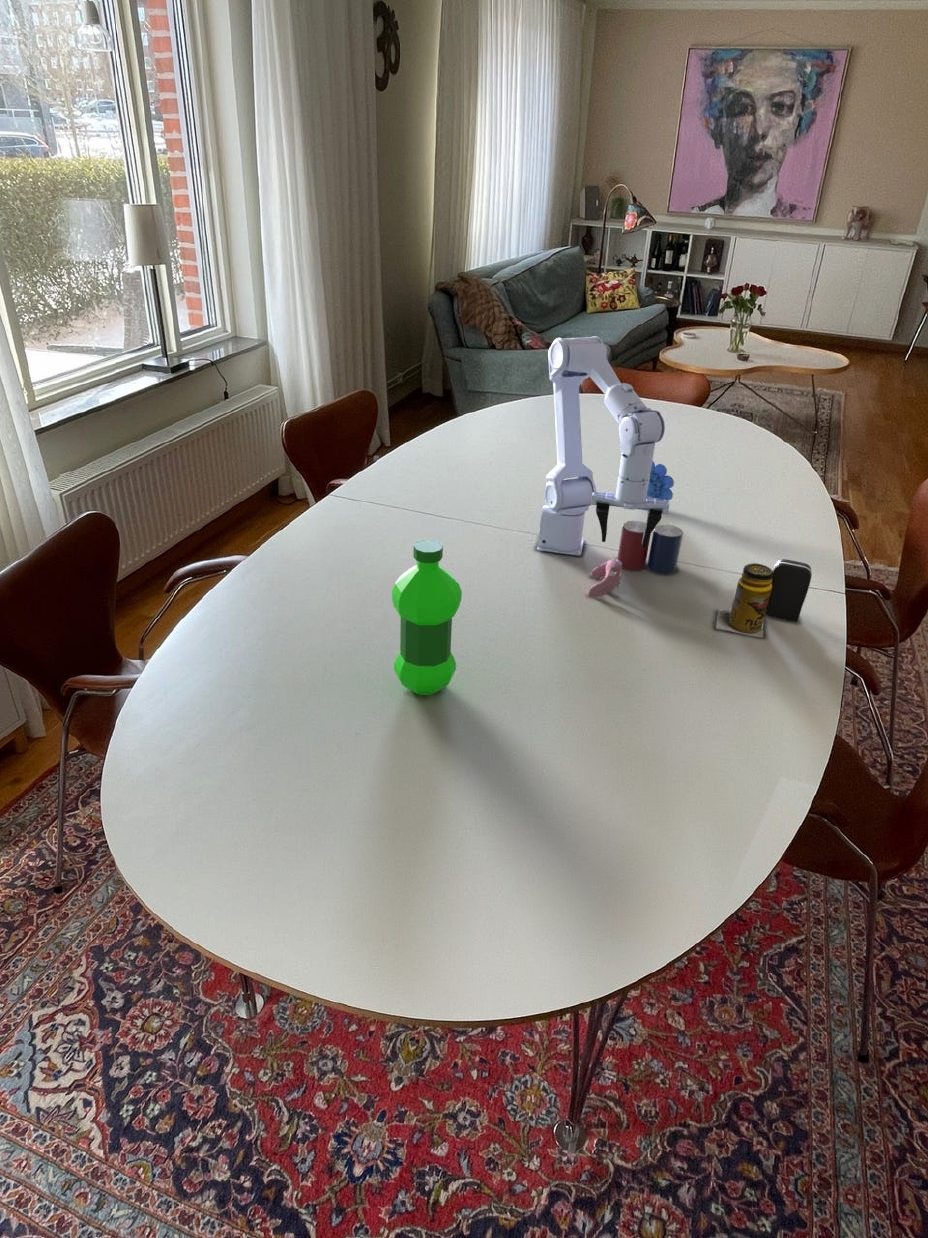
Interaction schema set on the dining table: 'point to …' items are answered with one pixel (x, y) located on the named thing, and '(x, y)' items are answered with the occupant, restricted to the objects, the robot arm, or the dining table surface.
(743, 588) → the condiment
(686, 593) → the dining table surface
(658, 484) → the blue flower
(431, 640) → the plastic bottle
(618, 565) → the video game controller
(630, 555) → the tin can burgundy
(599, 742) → the dining table surface
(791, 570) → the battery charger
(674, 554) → the tin can navy
